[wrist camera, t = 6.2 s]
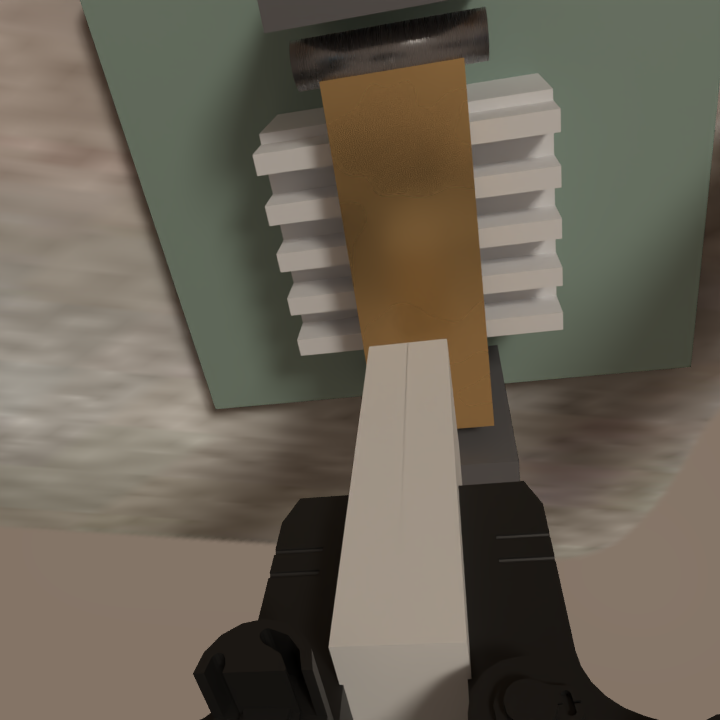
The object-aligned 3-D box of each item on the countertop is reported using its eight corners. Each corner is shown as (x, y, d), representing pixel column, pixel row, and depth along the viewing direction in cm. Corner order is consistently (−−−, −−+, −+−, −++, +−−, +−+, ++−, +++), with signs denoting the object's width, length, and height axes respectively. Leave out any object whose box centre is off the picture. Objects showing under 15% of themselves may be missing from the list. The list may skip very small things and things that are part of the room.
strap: (362, 420, 18) (358, 439, 17) (295, 40, 14) (286, 40, 13) (510, 407, 18) (514, 427, 17) (483, 7, 14) (486, 4, 13)
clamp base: (224, 390, 25) (160, 527, 19) (93, -22, 18) (-72, -11, 12) (678, 348, 22) (770, 490, 16) (722, -149, 16) (906, -213, 10)
